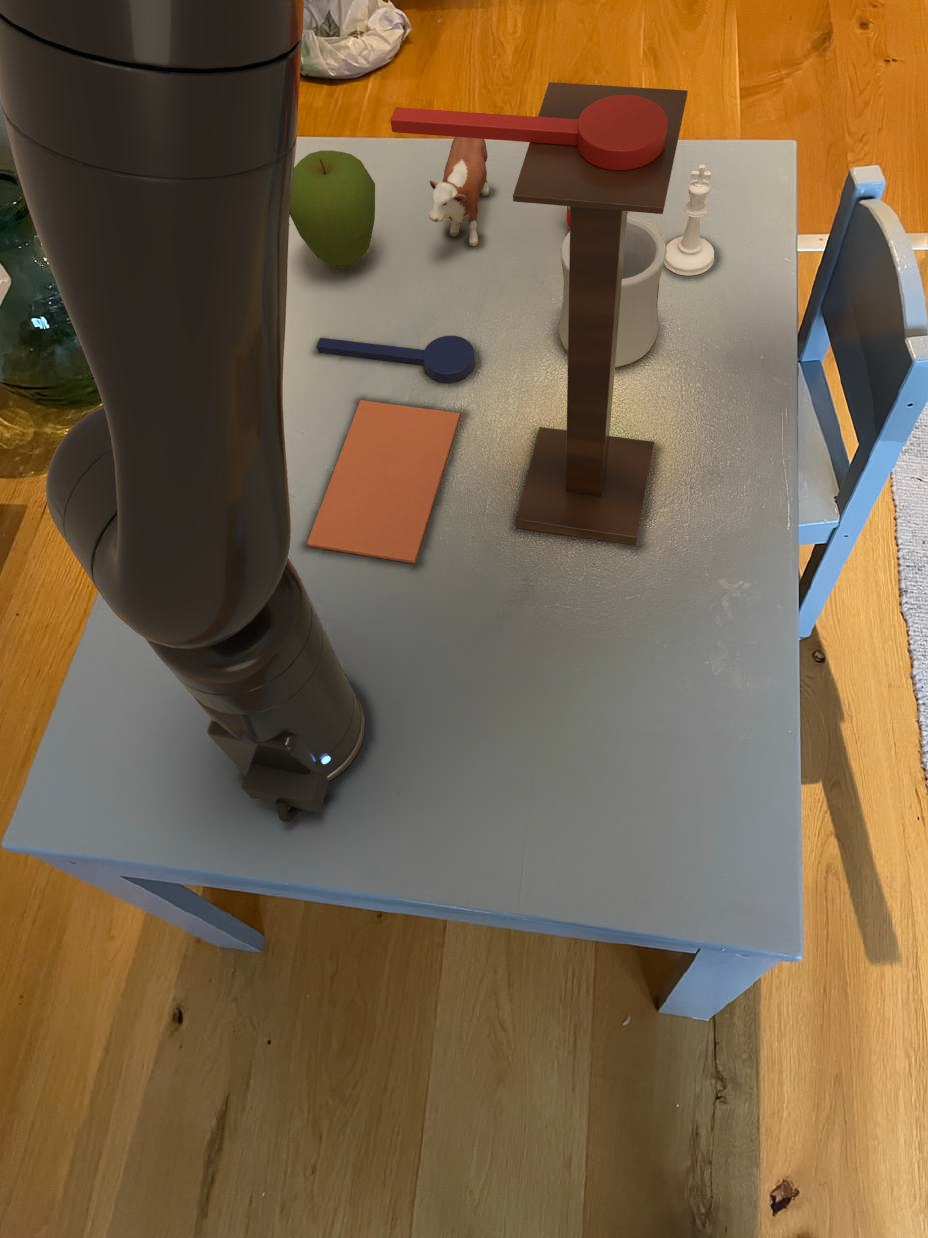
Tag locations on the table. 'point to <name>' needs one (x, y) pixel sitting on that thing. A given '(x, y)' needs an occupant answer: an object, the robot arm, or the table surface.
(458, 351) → the navy spoon
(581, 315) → the spoon stand
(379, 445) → the terracotta mat
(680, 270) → the chess piece
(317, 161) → the apple
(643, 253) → the mug
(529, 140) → the red spoon
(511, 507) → the table surface
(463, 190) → the bull figurine
